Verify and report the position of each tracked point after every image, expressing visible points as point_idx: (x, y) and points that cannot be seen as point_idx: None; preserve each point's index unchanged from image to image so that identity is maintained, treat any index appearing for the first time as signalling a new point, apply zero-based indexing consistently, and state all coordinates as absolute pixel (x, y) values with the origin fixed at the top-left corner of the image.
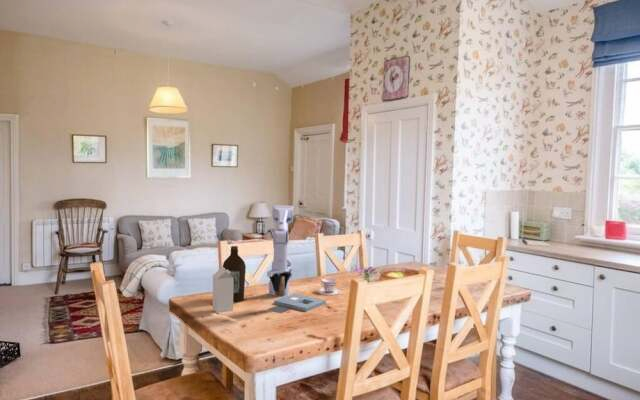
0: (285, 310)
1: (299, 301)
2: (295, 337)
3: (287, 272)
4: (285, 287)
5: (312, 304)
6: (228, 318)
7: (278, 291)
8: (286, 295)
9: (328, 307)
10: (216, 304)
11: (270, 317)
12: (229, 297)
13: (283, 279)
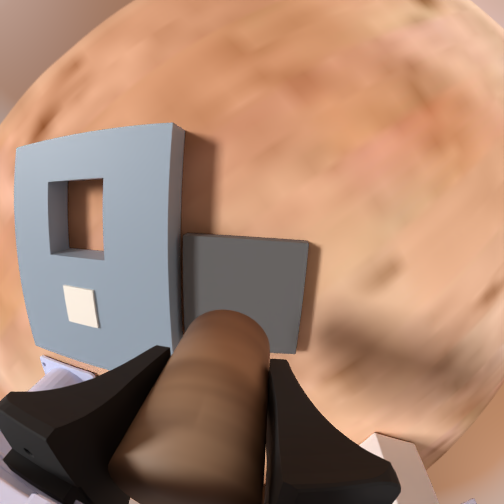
0: (239, 252)
1: (86, 257)
2: (471, 40)
3: (26, 460)
4: (154, 353)
5: (90, 147)
6: (439, 395)
7: (273, 359)
8: (64, 373)
9: (46, 124)
10: (423, 469)
11: (363, 271)
12: (401, 481)
13: (184, 431)
